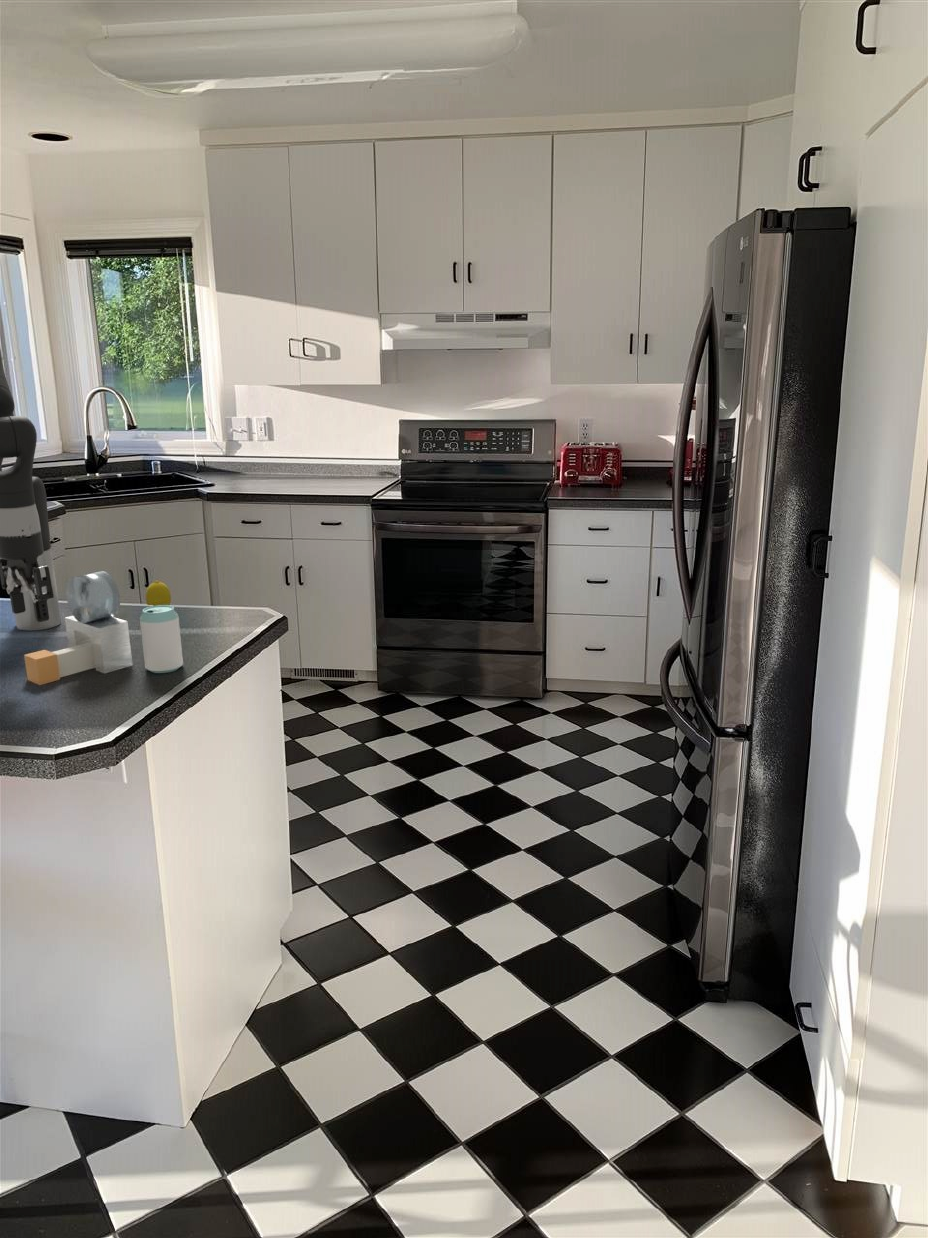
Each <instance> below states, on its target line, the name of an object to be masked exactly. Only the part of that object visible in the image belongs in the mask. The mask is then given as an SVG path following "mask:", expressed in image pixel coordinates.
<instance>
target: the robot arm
mask: <svg viewBox="0 0 928 1238" xmlns="http://www.w3.org/2000/svg"><path fill="white" fill-rule="evenodd" d="M14 411H15V401H14V397H13V395H12V392H11V389H10V385H9V383H8V380H7V377H6V374H5V371H4V366H3V360H2V353H1V350H0V584H1V588H2V590H6V592H7V594H8V595H9V598H10V605H11V612H12V613H13V614H14V618H15V624H16V628H17V629H18V630H21V631H40V630H46V629H50V628H54V627H57V626H58V625H60V624H61V623H62V618H61V612H60V604H59V597H58V590H57V589H58V588H57V583H56V582H57V581H56V573H55V567H54V559H53V551H52V546H51V545H52V544H51V535H50V534H51V533H50V525H49V514H48V500H47V499H48V498H47V492H46V488H45V487H46V486H45V484H44V482H43V480H42V479H41V478H40V477H38V476H33V468H34V459H35V453H36V448H37V441H38V438H37V437H38V435H37V429H36V427H35V425H34V424H33V422H32V420H30V418H28V417H26V416H23V415H14ZM7 458H8V459H9V458H10V459H11V458H16V460H15V461H14V464H13V465H12V466H11V467H9V468H6V469H4V470H3V467H2V466H3V465H2V463H3V460H4V459H7Z"/></svg>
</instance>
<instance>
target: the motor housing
mask: <svg viewBox="0 0 928 1238" xmlns="http://www.w3.org/2000/svg"><path fill="white" fill-rule="evenodd" d="M65 596H66V602H67V605H68V608H69V611H70V612H71V615H70V616H66V617H64V623H65V629H66V637H67V644H68V646H67V647H68V648H69V647H73V646H77V645H81V644H85V643H89V642H93V649H94V657H95V665H96V668H95V671H96V672H98V673H99V672H100V673H102V674H108V673H111V672H115V671H118V670H121V669H125V668H129V667H132V666H133V658H132V647H131V642H130V641H131V639H130V634H129V633H130V631H129V623H128V620H124V619H121V618H118V617H115V616H116V615H118V612H119V611H120V608H121V596H120V591H119V588H118V585H117V583H116V581H115V579H114V578H113V577H112V575H111V574H109V572H107V571H102V570H101V571H97V572H92V573H87V574H81V575H77V576H72V577H70V578H69V580H68V581H67V582H66V587H65Z"/></svg>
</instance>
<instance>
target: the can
mask: <svg viewBox="0 0 928 1238" xmlns="http://www.w3.org/2000/svg"><path fill="white" fill-rule="evenodd" d="M139 617H140V618H139V624H140V633H141V634H140V635H141V640H142V641H141V642H142V651H143V659H144V667H145V669H146V670H147V671H150V672H151V673H154V674H165V673H172V672H175V671H177V670H179V668H180V667H182V666H183V665H184V660H183V657H184V656H183V649H182V648H183V647H182V639H181V630H180V629H181V628H180V618H179V614H178V613H177V611H176V610H175V607H174V606H173V605H170V606H169V605H157V606H151V607H148V606H147V607H145V608H143V609H142V614H141V616H139Z"/></svg>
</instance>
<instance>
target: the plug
mask: <svg viewBox="0 0 928 1238" xmlns="http://www.w3.org/2000/svg"><path fill="white" fill-rule="evenodd" d="M23 658H24V664H25V671H26V677H27V681H29V682H31V683H34V684H35V685H38V686H41V685H45V684H48V683H52V682H55V681H60V680H61V678H63V677H67V676H70V675H74V674H77V673H81V672H84V671H88V670H92V669H96V665H95V657H94V649H93V642H89V643H85V644H81V645H77V646H73V647H69V646H68V647H67V648H66V647H65V648H63V649H59V650H54V651H49V650H47V649H41V650H38V651H35V652H30V653H26V654H24V655H23Z"/></svg>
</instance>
